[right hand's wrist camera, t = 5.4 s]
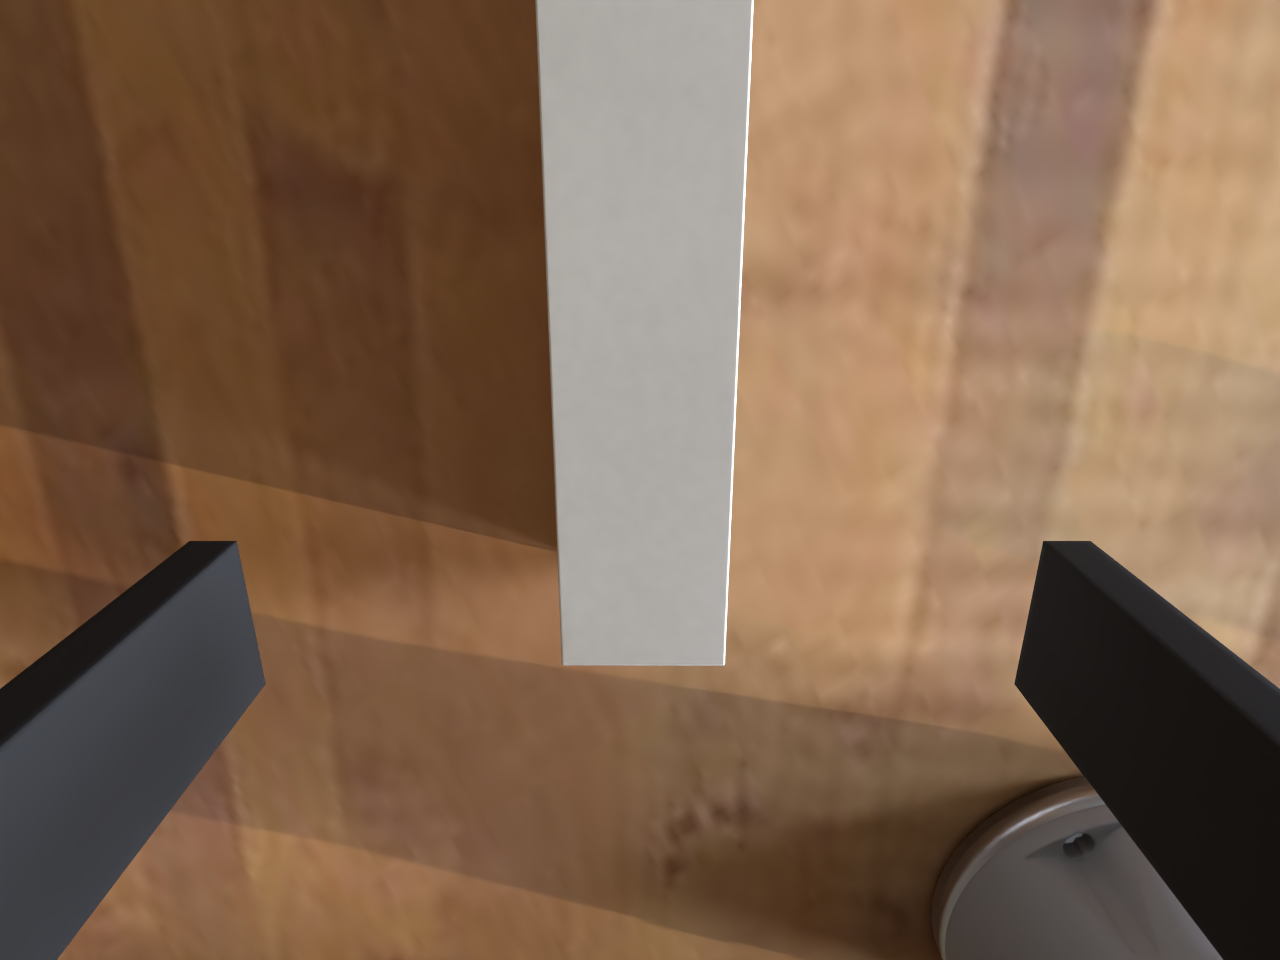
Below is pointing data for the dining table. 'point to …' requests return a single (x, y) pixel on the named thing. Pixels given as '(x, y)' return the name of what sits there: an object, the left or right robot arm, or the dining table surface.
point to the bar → (643, 316)
